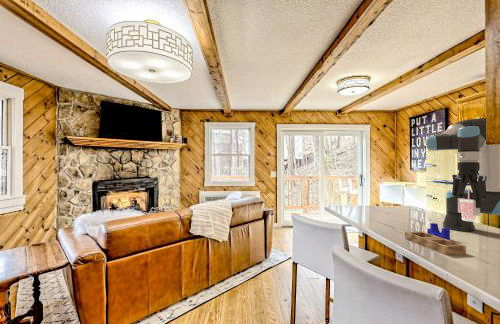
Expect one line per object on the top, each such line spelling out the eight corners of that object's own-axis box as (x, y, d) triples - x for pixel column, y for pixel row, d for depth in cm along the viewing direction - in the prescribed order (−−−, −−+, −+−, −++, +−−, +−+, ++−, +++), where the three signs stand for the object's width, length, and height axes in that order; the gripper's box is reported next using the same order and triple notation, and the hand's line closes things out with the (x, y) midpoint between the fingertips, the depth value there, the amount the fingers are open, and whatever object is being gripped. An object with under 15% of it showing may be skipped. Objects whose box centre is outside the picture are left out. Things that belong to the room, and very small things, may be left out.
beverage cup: (459, 218, 119) (459, 187, 119) (477, 220, 116) (477, 188, 116) (459, 220, 115) (459, 188, 115) (478, 222, 111) (478, 189, 111)
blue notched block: (427, 233, 146) (427, 223, 146) (436, 234, 145) (436, 223, 145) (440, 240, 134) (440, 228, 134) (449, 240, 133) (449, 228, 133)
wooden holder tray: (405, 238, 135) (405, 232, 135) (422, 238, 137) (422, 231, 137) (445, 254, 112) (445, 246, 112) (466, 253, 113) (466, 245, 113)
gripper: (442, 161, 124) (442, 210, 124) (483, 161, 105) (483, 218, 105) (455, 161, 125) (455, 209, 125) (499, 161, 106) (499, 218, 106)
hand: (468, 213), depth 115 cm, fingers closed on beverage cup, 6 cm apart
